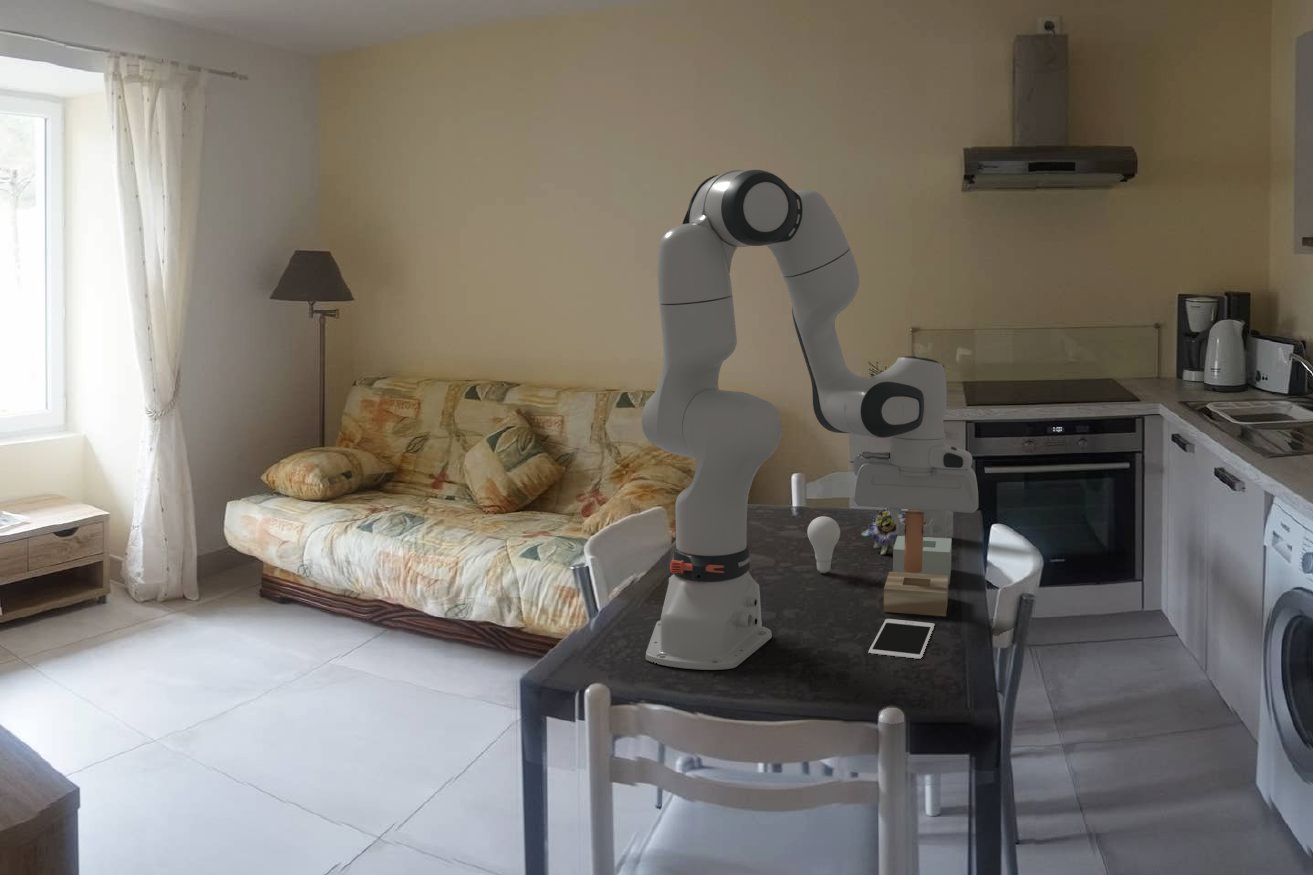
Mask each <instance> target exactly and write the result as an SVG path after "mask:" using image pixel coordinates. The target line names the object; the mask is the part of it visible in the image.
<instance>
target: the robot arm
mask: <svg viewBox="0 0 1313 875" xmlns="http://www.w3.org/2000/svg"><path fill="white" fill-rule="evenodd" d="M761 246H763V247H764V246H766V247H767V248H768V249H769V250H770V251H771V254H772V255H773V256H774V257H775V259H776V262H777V266H778V268H779V270H780V273H781V275H782V278H783V280H784V283H785V286H786V288H787V291H788V294H789V297H790V301H791V313H792V314H791V315H792V321H793V325H794V329H795V332H796V335H797V338H798V341H799V345H800V348H801V352H802V354H803V355H802V356H803V358H804V361H805V364H806V367H807V371H808V374H809V377H810V382H811V389H812V407H813V411H814V415H815V418H816V419H817V421H818V423H819V424H820V425H821V427H823V428H824V429H826V430H827V431H829V432H831V433H837V434H853V435H858V436H861V437H870V438H875V439H885V438H890V443H889V452H888V451H886V452H884V451H882V452H881V451H879V452H878V451H877V452H871V451H862V453H859V454H857V455H856V456H855V458H853V464H852V466H853V470H852V472H853V473H854V476H856V479H855V483H854V484H855V485H854V490H853V492H854V493H853V501H854V503H855V504H856V505H857V506H858V507H866V508H867V507H868V508H869V507H870V508H882V509H884V508H885V509H887V508H888V509H889V508H890V515H891V517H892V519H893V521H894V523H895V524H896V534H898V535H905V523H901V522H900V520H899V518H898V516H897V515H898V513H899V509H901V510H902V509H903V510H908V509H915V510H931V517H933V518H932V520H931V521H930V523H929V524H924V526H923V536H927V537H932V528H933V526H934V525H935V523H936V522H937V520H938V519H939V516H940V511H948V512H953V513H965V514H966V513H968V514H973V513H975V512H976V511H977V510H978V509H979V490H978V488H979V487H978V480H977V479H978V478H977V475H976V472H975V470H974V469H973V468H972V464H973V456H972V453H970V452H969V451H967V450H965V449H961V448H960V447H956V446H953V445H950V444H947V443H946V432H945V428H944V419H945V416H946V414H947V403H948V402H947V400H948V399H947V397H948V394H947V393H948V392H947V377H946V373H945V372H946V371H945V369H944V366H943V364H942V363H941V362H939V361H937V360H935V359H932V358H927V357H920V356H914V355H902V356H899V357H898V358H897V359H896V361H895V363H893V364H892V365H891V366H890V367H888V368H887V369H885V370H884V371H882V372H880V373H879V374H876V375H873V376H871V377H867V376H858V375H857V374H855V373H854V372H852V371H851V370H850V369H849V367H848V366H847V364H846V361H845V358H844V354H843V351H842V348H841V347H842V346H841V344H840V341H839V338H838V334H837V331H836V320H837V319H836V318H837V316H838V315H839V314H840V313H842V312H843V311H844V310H845V309H847V307H849V305H850V304H852V303H853V300H854V299H855V297H856V295H857V293H858V290H859V287H860V275H859V269H858V266H857V262H856V258H854V254H853V252H852V249H851V247H850V244H849V242H848V238H847V237H846V235H845V233H844V231H843V228H842V225H840V222H839V221H838V219H837V216H836V215H835V213H834V212H833V210H832V208H831V207H830V205H829V204H828V202H827V200H826V199H825V197H824V196H823V195H822V194H820V193H819V192H818V191H815V190H811V189H798V190H794V189H792V188H790V187H789V185H788V184H787V183H786V182H785V181H784V180H783V179H782V178H781V177H779V176H778V175H776V174H774V173H773V172H770V171H766V170H762V169H750V170H743V169H742V170H741V169H736V170H735V169H734V170H729V171H726V172H723V173H720V174H716V175H712V176H709V177H708V178H707V179H705V180H703V181H702V182H701V183H700V184H699V185H698V186H697V187H696V188H695V190H694V192H693V194H692V196H691V198H690V201H689V204H688V209H687V211H686V213H685V216H684V218H683V220H682V224H679V225H676V226H675V227H673V228H671V229H669V230H668V231H666V232H665V234H664V235H662V237H661V239H660V242H659V245H658V253H657V254H658V256H657V295H658V303H659V313H660V321H661V324H660V325H661V332H662V344H663V345H662V348H663V357H662V368H661V372H660V377H659V380H658V384H657V386H656V389H655V391H654V392H653V393H652V395H651V396H650V397H649V398H648V399H647V400H646V402H645V404H644V407H643V410H642V414H641V427H642V431H643V433H644V436H645V438H646V439H647V440H648V442H650V444H652V445H653V446H656V447H658V448H660V449H661V450H663V451H664V452H666V453H667V452H668V453H669V454H672V455H675V456H680V457H686V458H692V459H695V461H696V465H695V466H696V467H695V472H694V476H693V479H692V482H691V484H690V485H689V486H687V487H686V488H685V489H683V490H682V491H681V492H680V493H679V494H678V495H677V497H676V500H675V504H674V505H675V535H676V536H675V542H676V544H675V546H674V548H673V554H672V559H671V561H670V564H669V566H670V567H669V569H670V570H669V571H670V574H672V575H670V577H668V585H667V590H666V594H665V597H664V598H665V599H664V601H663V606H662V608H661V614H660V620H658V621H657V622H656V623H655V626H654V629H653V632H652V635H651V637H650V640H649V643H648V645H647V649H646V651H645V661H648V662H650V663H653V662H654V663H653V664H656V663H657V665H661V666H666V667H671V668H672V667H673V668H678V669H688V670H689V669H690V670H691V669H692V670H702V671H703V670H704V671H705V670H709V671H711V670H712V671H713V670H714V671H716V670H720V671H721V670H729V669H735V668H736V667H738V666H739V665H740V664H742V663H743V662H744V661H745V660H746V659H748V658H749V657H750V656H752V655H753V653H755V652H756V651H758V650H759V649H760V648H761V647H762V646H763V645H765V644H766V643H767V642H769V640H771V639H772V637H773V636H772V630H771V629H769V628H767V627H766V626H763V624H762V606H761V592H760V591H761V590H760V585H759V583H758V582H757V581H756V580H755V579H754V578H753V576H752V575H751V574H750V571H749V570H750V569H751V553H750V547H749V546H750V545H748V544H747V529H748V528H747V524H748V523H747V521H748V520H747V518H748V513H747V512H748V502H749V500H748V499H749V494H750V490H751V486H752V483H753V481H754V479H755V476H756V474H757V473H758V470H759V469H760V468H761V466H762V465H763V464H764V463H765V462H767V460H769V459H770V458H771V457H772V456H773V455H774V454H775V452H776V451H777V449H778V447H779V445H780V442H781V439H782V430H783V428H782V426H783V425H782V421H781V417H780V414H779V411H778V410H777V408H776V407H775V406H774V404H772V403H771V402H769V401H767V400H765V399H764V398H761V397H758V396H756V395H753V394H750V393H749V392H743V391H735V390H723V389H722V390H721V389H720V388H719V376H720V372H721V369H722V365H723V362H725V361H726V360H727V359H728V358H730V357H731V356H732V355H733V353H734V352H735V351H736V347H737V344H738V339H737V337H738V336H737V328H736V327H737V326H736V317H735V308H734V307H735V306H734V299H733V298H734V297H733V288H732V281H731V275H730V273H731V267H732V266H731V265H732V261H733V257H734V255H735V252H736V250H737V249H738V248H747V247H761Z"/></svg>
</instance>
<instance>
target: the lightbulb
mask: <svg viewBox="0 0 1313 875" xmlns="http://www.w3.org/2000/svg"><path fill="white" fill-rule="evenodd" d="M806 533H807V537H808V539H809V542H810V544H811V546H812V547H813V550H814V554H815V555H814V556H815V561H816V570H817V571H819V572H820V573H822V574H826V573H828V572H829V571H831V564H832V560H833V553H834V549H835V547H836V545H837V543H838V542H839V539H840V537H841V529H840V525H839V524H838V522H837V521H836V520H835V519H834V518H831V517H829V516H825V515H823V516H818V517H815V518H814V519H813V520H811V521H810V523H809V525H808V526H807V532H806Z"/></svg>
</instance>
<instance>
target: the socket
mask: <svg viewBox="0 0 1313 875" xmlns="http://www.w3.org/2000/svg"><path fill="white" fill-rule="evenodd" d="M904 547H905V536H897V539H896V542H895V545H894V548H892V572H899V573H910V572H906V571H904ZM951 572H952V538H932V537H923V558H922V572H920V573H915V574H931V575H947V576H948V585H950V582H951Z"/></svg>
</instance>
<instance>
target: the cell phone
mask: <svg viewBox="0 0 1313 875" xmlns="http://www.w3.org/2000/svg"><path fill="white" fill-rule="evenodd" d="M935 625H936V624H935V623H933V622H924V621H915V620H907V619H906V620H903V619H902V620H901V619H893V618H885V619H884V622H883V624H882V625H881V627H880V628H879V631H878V633H877V634H876V637H875V638H874V641H873V642H872V644H871V646H870V648H869V650H868V652H867V653H868V654H869V653H871V654H870V655H873V654H878V655H877V656H881V655H887V656H886V657H890V656H895V657H894V658H898V657H906V658H905V659H907V658H914V659H913V660H915V659H921V658H922V657H923V658H924V655H925V653H924V652H926V650H927V647H928V645H929V642H930V640H929V639H931V637H932V635H931V634H933V632H934V629H935V627H936V626H935ZM934 626H935V627H934ZM932 631H933V632H932ZM930 636H931V637H930ZM928 641H929V642H928ZM927 644H928V645H927ZM926 646H927V647H926ZM925 649H926V650H925ZM923 654H924V655H923ZM923 658H922V659H923ZM922 659H921V660H922Z"/></svg>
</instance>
